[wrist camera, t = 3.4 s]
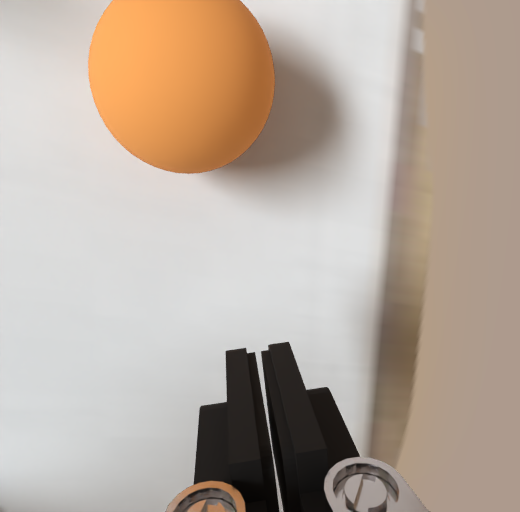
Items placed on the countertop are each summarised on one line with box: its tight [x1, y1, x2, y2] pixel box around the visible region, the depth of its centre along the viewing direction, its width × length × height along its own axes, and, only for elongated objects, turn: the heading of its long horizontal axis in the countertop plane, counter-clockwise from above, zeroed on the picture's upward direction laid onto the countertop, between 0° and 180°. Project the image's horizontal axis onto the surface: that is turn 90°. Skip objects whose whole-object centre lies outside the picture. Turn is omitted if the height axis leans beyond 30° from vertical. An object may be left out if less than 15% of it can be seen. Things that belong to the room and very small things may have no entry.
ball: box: [88, 0, 275, 174], centre depth 12 cm, size 6×6×6 cm
